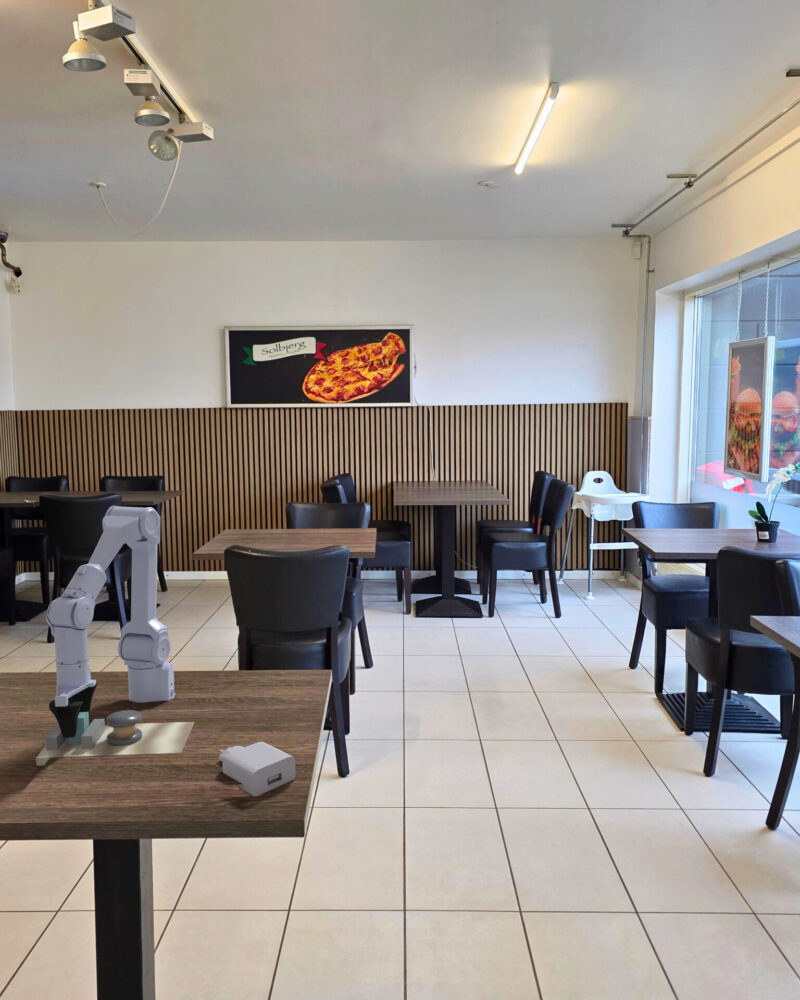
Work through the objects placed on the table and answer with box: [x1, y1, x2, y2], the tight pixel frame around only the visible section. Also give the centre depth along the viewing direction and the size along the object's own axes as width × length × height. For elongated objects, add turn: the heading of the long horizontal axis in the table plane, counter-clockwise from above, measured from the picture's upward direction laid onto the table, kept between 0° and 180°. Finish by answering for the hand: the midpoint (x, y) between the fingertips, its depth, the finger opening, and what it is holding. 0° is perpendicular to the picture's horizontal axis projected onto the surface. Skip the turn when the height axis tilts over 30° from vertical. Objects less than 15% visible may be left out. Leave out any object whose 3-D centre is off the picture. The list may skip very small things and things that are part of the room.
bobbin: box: [105, 709, 142, 746], centre depth 150 cm, size 6×6×4 cm
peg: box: [68, 712, 90, 744], centre depth 149 cm, size 3×3×5 cm
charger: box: [217, 741, 296, 797], centre depth 139 cm, size 5×9×15 cm
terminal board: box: [35, 721, 195, 766], centre depth 150 cm, size 26×14×2 cm, turn 95°
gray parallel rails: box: [45, 718, 106, 750], centre depth 150 cm, size 8×8×2 cm
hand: (76, 728), depth 149 cm, fingers open, 7 cm apart
